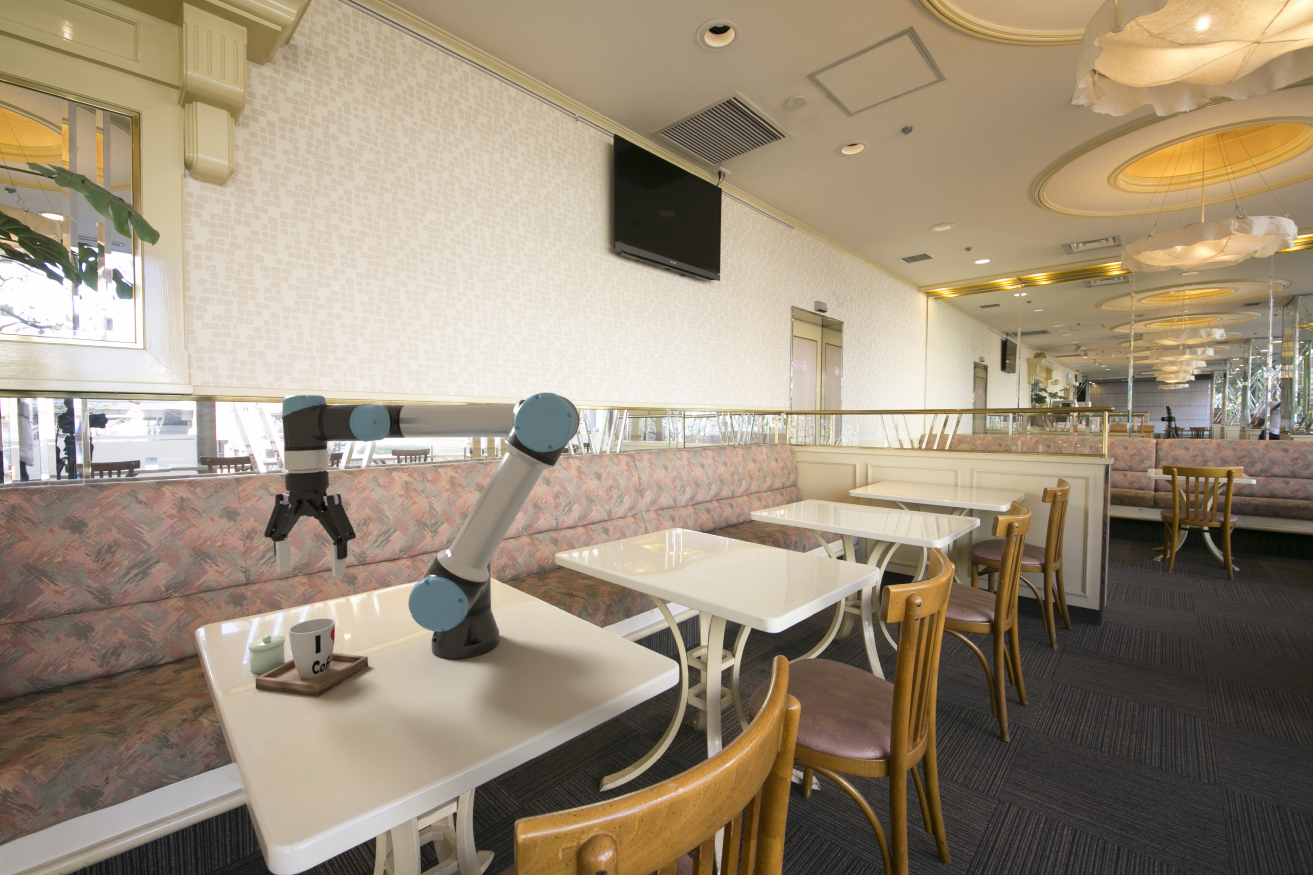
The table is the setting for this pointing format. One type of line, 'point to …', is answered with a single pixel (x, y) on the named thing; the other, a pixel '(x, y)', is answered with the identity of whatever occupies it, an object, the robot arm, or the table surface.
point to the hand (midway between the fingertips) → (311, 572)
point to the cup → (312, 646)
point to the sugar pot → (266, 654)
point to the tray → (291, 681)
